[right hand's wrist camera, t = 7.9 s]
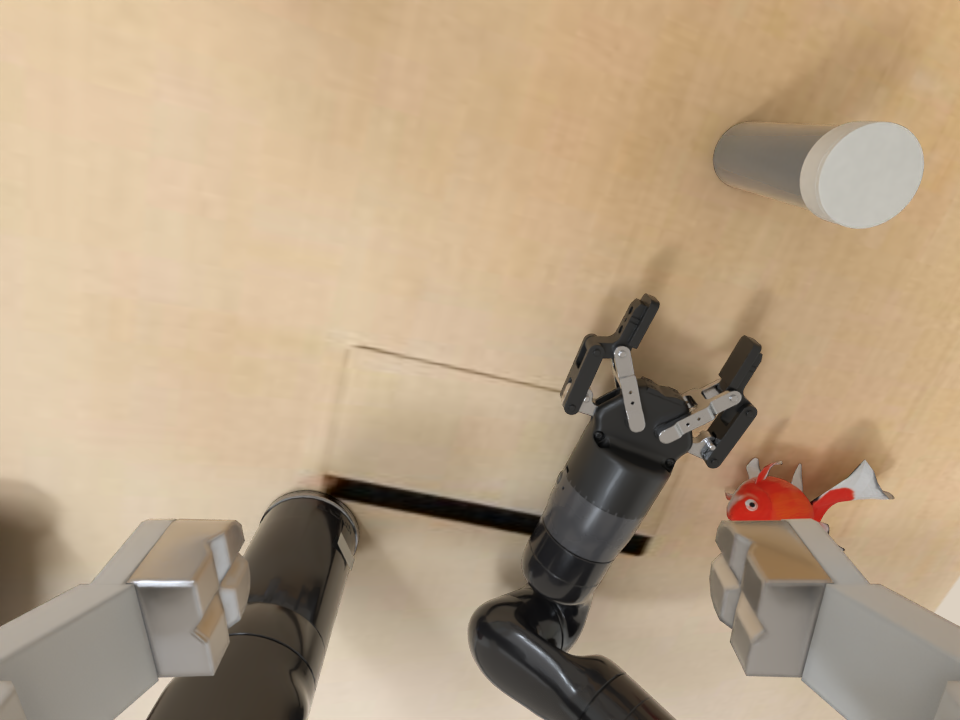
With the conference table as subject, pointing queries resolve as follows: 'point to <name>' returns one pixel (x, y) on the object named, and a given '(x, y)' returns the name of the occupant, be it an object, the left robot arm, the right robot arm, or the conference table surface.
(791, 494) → the fish
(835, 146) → the lid
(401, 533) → the conference table surface
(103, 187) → the conference table surface
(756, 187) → the bottle
